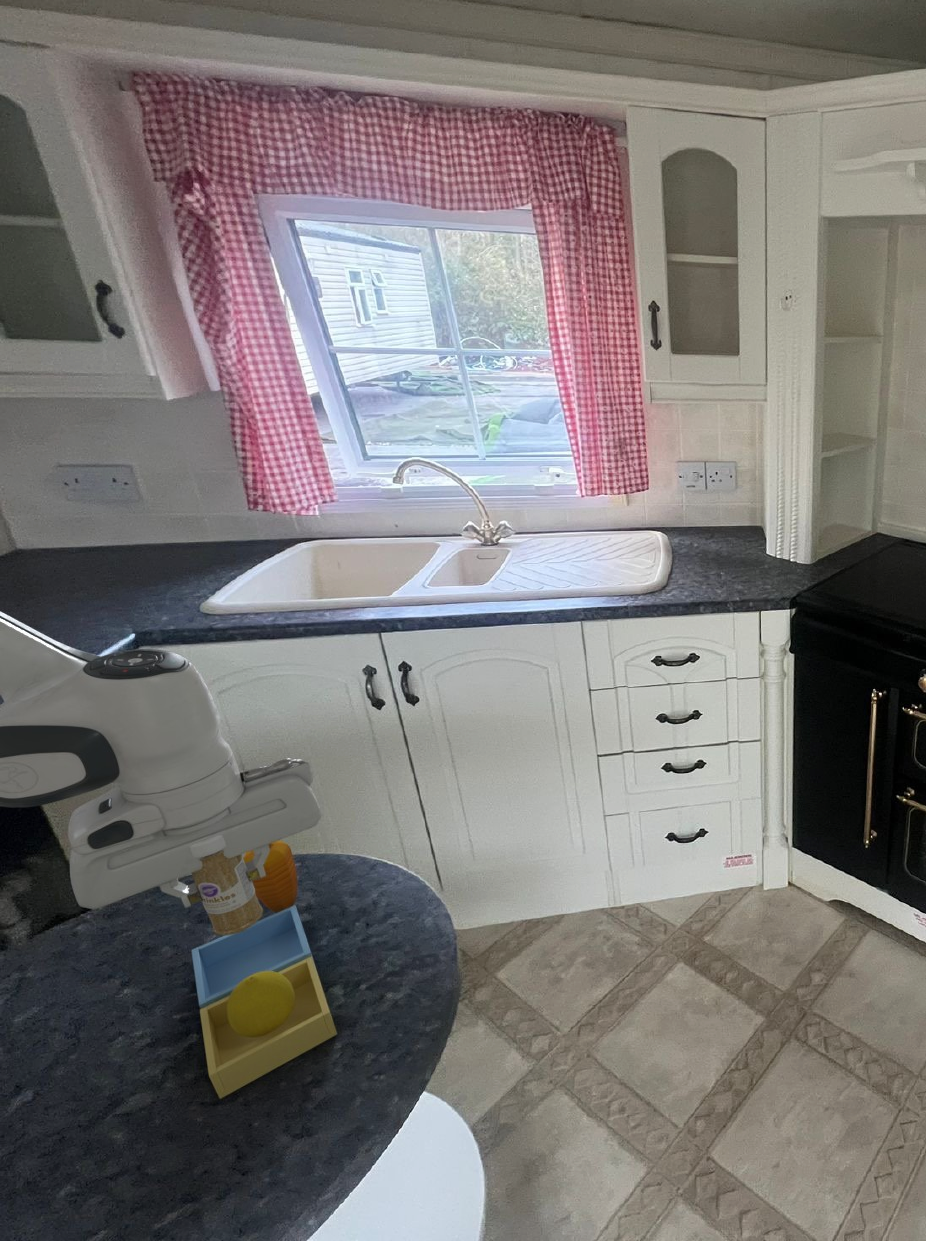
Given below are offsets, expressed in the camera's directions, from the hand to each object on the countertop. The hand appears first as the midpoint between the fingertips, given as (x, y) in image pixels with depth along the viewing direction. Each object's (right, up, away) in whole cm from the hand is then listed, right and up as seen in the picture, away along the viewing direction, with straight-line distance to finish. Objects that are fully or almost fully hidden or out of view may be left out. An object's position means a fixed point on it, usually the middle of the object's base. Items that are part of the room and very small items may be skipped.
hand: (226, 888), depth 79 cm
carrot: (-4, -9, +13) cm, 16 cm away
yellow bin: (+7, -16, -2) cm, 17 cm away
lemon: (+7, -15, -2) cm, 17 cm away
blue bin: (-1, -12, +5) cm, 13 cm away
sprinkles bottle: (0, -5, +2) cm, 5 cm away
